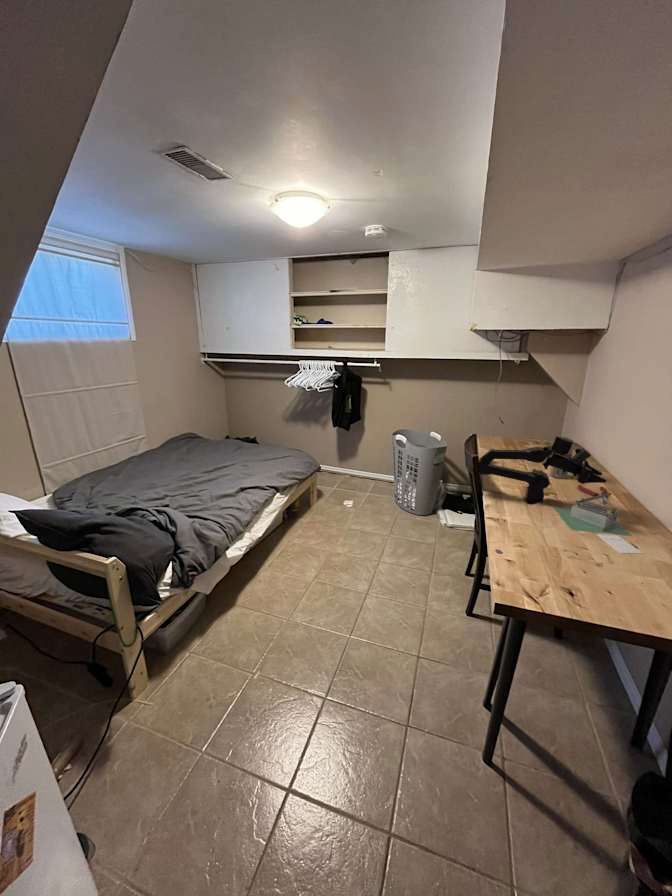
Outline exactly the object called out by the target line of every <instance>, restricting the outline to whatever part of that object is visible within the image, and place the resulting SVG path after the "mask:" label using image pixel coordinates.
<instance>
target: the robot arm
mask: <svg viewBox="0 0 672 896" xmlns="http://www.w3.org/2000/svg"><path fill="white" fill-rule="evenodd" d="M573 443H574V444H575V441H574V440H572V439H570V438H568V437H564V436H558V435H555V437H554V441H553V442H552V445H549V446H545V447H542V446H535V447H528V448H525V449H495V448H491V449H489V450H488V451H487V452H486V453H485V454H483V456H481V457H480V458H478V459H479V472H480V474H479V475H480V476H481V475H482V476H486V475H494V476H498V477H502V478H505V479H506V478H507V479H511V480H516V481H521V482H523V483H524V482H525V483H527V485H528V486H526V487H525V489H526V490H525V494H524V496H523V499H524V501H525V502H526V504H529V505H530V504H531V505H537V504H538V503H541V502H544V499H545V493H544V489H547V488H548V487H549V486H550V477H549V475H548V473H546V472H544V471H543V470H538V469H535V468H533V469H532V471H524V470H520V469H519V470H518V469H515V468H509V467H505V466H500V465H495V464H493V463H492V462H493V461H495V460H523V461H528V462H532V463H536V464H537V463H538V464H542V466H543V467H544V470H548V467H551V466H552V467H555V468H557V469H560V470H562V471H563V472H568V474H572V476H574V477H575V478H576V480H577V483H580V484H581V485H584V484H593V483H594V484H596V483H598V484H599V483H600V484H601V483H603V484H605V483H607V479H605V478H603V477H602V475H603V472H601V471H599V470H598V469H597V468H595V467H592V465H590V464H589V462H588V460H587V459H590V457H591V456H592V454H591V453H590V452H589V451H588V450H586V449H585V448H584V447H582V448H579V447H577V448H575V449H574V456H573V455H572V457H564V456H561V455H565V454H568V452H569V450H570V448H571V447H572V445H573ZM555 453H557V454H555ZM558 454H560V455H558ZM471 471H472V472H473V469H472V468H471Z"/></svg>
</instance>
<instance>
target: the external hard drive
mask: <svg viewBox="0 0 672 896" xmlns="http://www.w3.org/2000/svg"><path fill="white" fill-rule="evenodd" d="M597 536H598V537H599V538H600V539H601V540H602V541H604V542H605V543H606V544H607V545H609V547H611V548H613V549H614V550H615V551H616V552H618V553H619V554H635V555H637V554H638V555H639V554H640V555H641V554H642V555H644V554H645V553H644V552H643V551H641V550H639V549H638V548H636V547H635V546H634V545H632V544H630V543H629V541H627V540H625V539H624V538H622V537H621V536H620V535H615V534H614V535H604V534H597Z"/></svg>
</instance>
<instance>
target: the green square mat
mask: <svg viewBox="0 0 672 896" xmlns="http://www.w3.org/2000/svg"><path fill="white" fill-rule="evenodd" d="M552 508H553V510H554V511H556V513H557V514H558V515H559V517H560V518H561V519H562V520H563V521H564V523H565V524H566V525H567V526H568V528H569V530H571V531H577V532H578V531H579V532H587V533H598V534H605V535H614V536H615V535H618V536H628V537H633V535H631V533H630V532H628V531H627V530H626V529H625V528H624V527H623V526H621V524H620V523H619V522H617V523H616V524H615V525H613V526H611V527H609V528H607V529H606V530H604V531H600V530H598V529H595V528H592V527H590V526H587V525H584V524H582V523H579V522H576V521H574V520H571V519H569V515H571V510H572V508H563V507H552Z"/></svg>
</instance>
